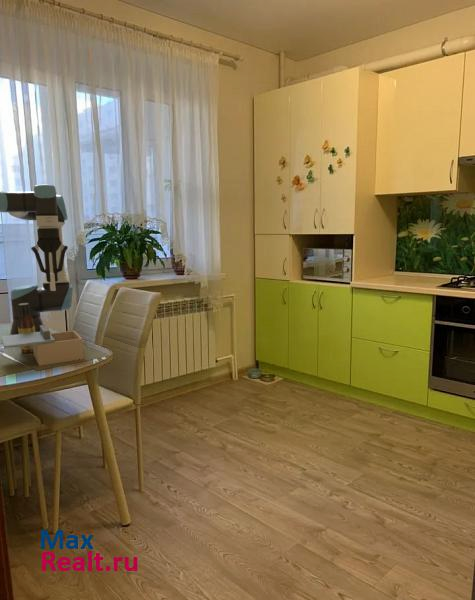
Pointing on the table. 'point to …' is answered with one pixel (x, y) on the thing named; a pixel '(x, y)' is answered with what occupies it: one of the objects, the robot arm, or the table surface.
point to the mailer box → (60, 349)
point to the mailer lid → (28, 338)
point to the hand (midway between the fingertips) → (53, 290)
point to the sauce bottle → (25, 325)
